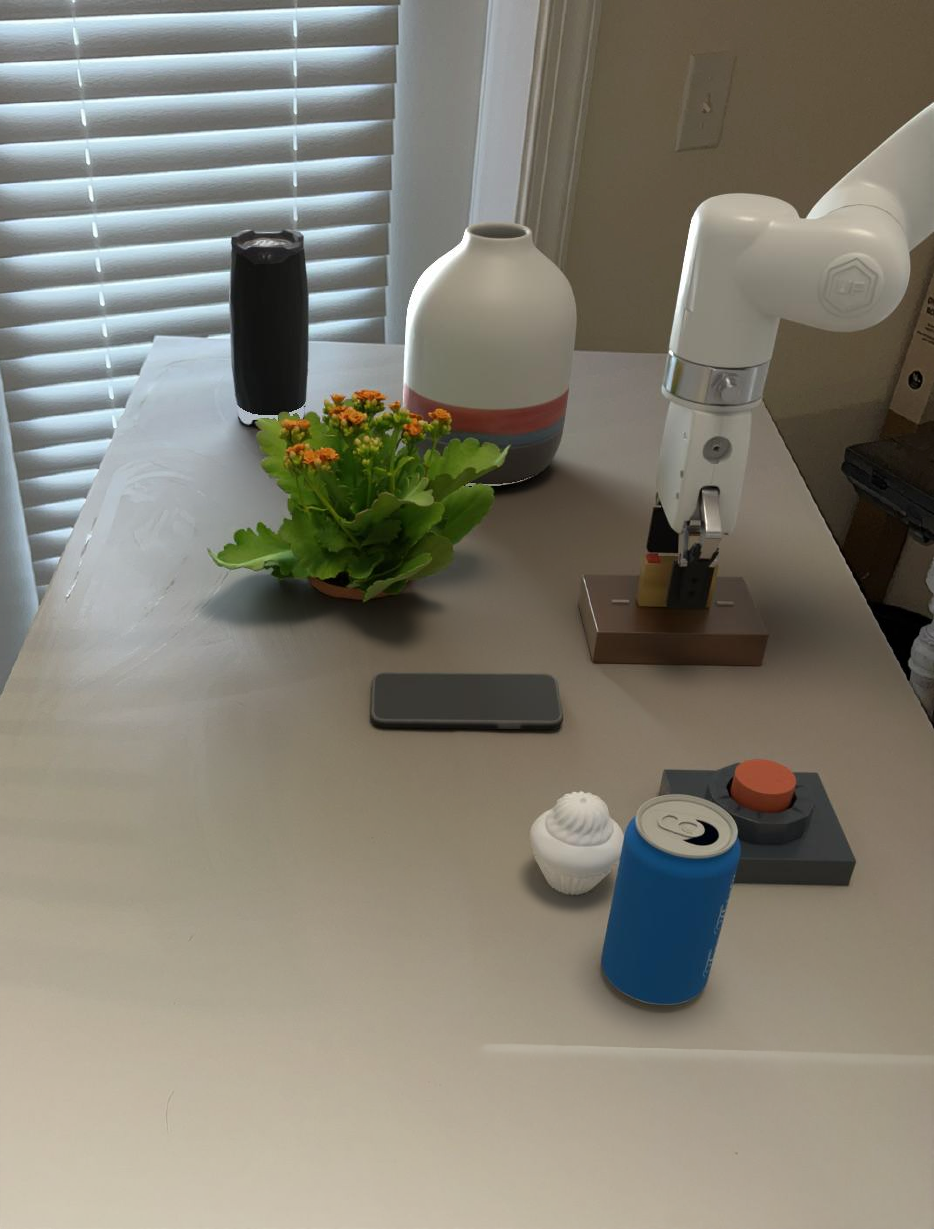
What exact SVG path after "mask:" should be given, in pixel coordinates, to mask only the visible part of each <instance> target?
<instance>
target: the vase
mask: <svg viewBox="0 0 934 1229" xmlns="http://www.w3.org/2000/svg"><path fill="white" fill-rule="evenodd" d="M406 313H407V314H406V321H405V322H406V323H405V324H406V325H405V339H404V340H405V341H404V361H403V384H402V385H403V386H402V387H403V388H402V409H403V408H406V410H409V413H413V414H417V415H421V416H422V417H423V418H424V419H423V421H427V422H428V424H430V423H431V422H432V421H434V419H433V418H431V417H429V415H428V413H429V412H430V413H433V412H435V410H436V409H443V411H447V412H446V413H449V414H450V416H451V419H452V422H451V423H450V428H451V430H450V431H449V432H450V434H444V435H442V437H441V438H440V439H439V440H438V441H437V443H436V447H435V450H437V451H438V452H439V453H440V455H441V457H442V456H443V451H444V449H445V447H446V446H447V447H448V444H449V442H450V441H451V440H452V439H459V440H460V442H461V444H462V443H463V442H464V440H465V439H467V438H474V439H477V440H478V441H479V447H481V446H482V444H484V443H485V442H488V443H492V444H495V445H496V446H497V447H498V448H499V450H500V449H502V452H503V451H504V450H505V448H506V447H507V446H508V445H511V446H510V448H509V449H508V453H507V455H506V457H505V460H504V463H503V465H502V466H500V467H498V468H496V469H494V470H492V471H490V472H488V473H486V474H484V475H482V476H481V477H479V478H477V479H475V480H473V481H471V482H469V483H476V484H480V483H481V484H503V483H512V482H517V481H520V480H524V479H526V478H529V477H532V476H534V477H536V476H537V475H536V474H538V473H539V472H541V471H542V470H543V471H545V470H546V469H547V468H548V466H549V465H550V464H551V463H552V461H553V459H554V457H555V455H556V454H557V453H558V450H559V448H560V445H561V441H562V438H563V434H564V428H565V420H566V415H567V408H568V399H569V392H570V384H571V376H572V369H573V362H574V361H573V360H574V352H575V343H576V335H577V323H578V320H577V319H578V313H577V304H576V299H575V295H574V292H573V288H572V286H571V283H570V282H569V279H568V278H567V276H566V275H565V274H564V273H563V272H562V270H561V269H560V268H559V267H558V266H557V265H556V264H555V262H553V261H552V260H550V258H548V257H547V256H546V255H545V254H544V253H542V252H541V251H540V250H539V249H538V248H537V246H536V245H535V244H534V240H533V231H532V230H531V228H529V227H528V226H526V225H523V224H519V223H516V222H515V223H514V222H509V221H483V222H477V223H474V224H471V225H469V226H467V227H466V228H465V231H464V235H463V238H462V241H461V242H460V243H459V244H458V245H457V246H455V247H454V248H453V249H452V250H450V251H448V252H447V253H446V254H444V255H443V256H441V257H439V258H438V259H437V260H436V261H435V262H434V263H432V264H431V265H430V266H429V267H428V268H427V269H425V271H424V272H423V273H422V275H421V276H420V277H419V279H418V281H417V283H416V284H415V286H414V289H413V290H412V294H411V297H410V299H409V303H408V307H407V312H406ZM425 433H426V432H424V433H423V434H425ZM429 435H430V433H426V437H425V439H426V440H424V441H422V442H420V443H417V444H416V445H415V446H414V449H416V448H417V447H419V450H418V451H417V452H418V455H419V457H420V458H421V464H422V462H423V461H422V460H423V457H424V455H425V453H426V451H427V450H428V449H430V450H431V449H432V446H433V443H434V441H433V440H431V438H430V437H429ZM438 435H439V433H438ZM435 436H436V435H435ZM437 438H438V437H437ZM405 446H407V444H405ZM502 452H501V453H502ZM543 471H542V472H543ZM542 472H541V473H542ZM539 474H540V473H539ZM539 474H538V475H539ZM535 475H536V476H535Z"/></svg>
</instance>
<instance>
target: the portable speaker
mask: <svg viewBox="0 0 934 1229" xmlns="http://www.w3.org/2000/svg"><path fill="white" fill-rule="evenodd" d="M230 238H231V239H230V244H231V252H230V269H229V270H230V271H229V284H228V286H229V288H228V306H229V308H228V310H229V311H228V312H229V333H230V334H229V336H230V360H231V361H230V362H231V371H232V380H233V388H234V396H235V402H236V406H237V405H238V406H239V407H240V408H242V409H243V410H245V411H247V412H250V413H252V414H258V415H279V414H280V413H281V412H288V413H289V412H292V411H294V410H297V409H299V408H301V407H302V406H303V405H304V404H305V402H306V403H307V392H308V390H307V389H308V375H309V357H310V356H309V355H310V354H309V350H310V349H309V337H310V336H309V331H310V330H309V329H310V328H309V327H310V326H309V323H310V321H309V320H310V319H309V312H310V311H309V310H310V307H309V304H310V299H309V298H310V296H309V295H310V294H309V284H308V273H307V272H308V271H307V264H306V255H305V247H304V243H305V236H304V234H302V232H301V231H299V230H298V231H297V230H293V229H282V230H281V231H254V230H253V229H245V230H241V231H237V232H234V234H233V235H232V236H231V237H230Z"/></svg>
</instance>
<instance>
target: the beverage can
mask: <svg viewBox="0 0 934 1229" xmlns="http://www.w3.org/2000/svg"><path fill="white" fill-rule="evenodd" d="M737 834H738V829H737V825H736V823H735V821H734V820H733V818H732V817H731V816H730V815H729V813H727V812H726V811H725V810H724V809H722V808H721V807H719V806H718V805H716V804H714V803H712V802H710V801H707V800H705V799H702V798H698V797H694V796H689V795H679V794H671V795H663V796H659V795H658V796H655V797H653V798H650V799H648V800H646V801H645V802H644V803H642V804H641V805H640V806H639V807H638V809H637V811H636V815H635V816H633V817H632V818H631V819H630V820H629V822H628V824H627V826H626V828H625V831H624V834H623V835H624V840H623V845H622V851H621V856H620V859H619V860H618V867H617V872H616V877H615V882H614V889H613V893H612V899H611V904H610V909H609V914H608V920H607V925H606V931H605V935H604V940H603V947H602V952H601V958H600V963H601V968H602V971H603V974H604V976H605V977H606V979H607V980H608V981H609V983H611V985H612V986H613V987H615V988H616V989H617V990H618V991H620V993H623V994H624V995H626V996H628V997H630V998H631V999H634V1000H636V1001H639V1002H642V1003H646V1004H650V1005H657V1006H658V1005H659V1006H667V1005H668V1006H672V1005H679V1004H682V1003H685V1002H688V1001H690V1000H693V999H695V998H696V997H697V996H699V995H700V994H701V993H702V992H703V990H704V989H705V988H706V986H707V984H708V981H709V978H710V973H711V970H712V965H713V962H714V957H715V954H716V951H717V947H718V943H719V938H720V934H721V932H722V927H723V923H724V920H725V916H726V912H727V909H728V908H727V907H728V905H729V901H730V897H731V893H732V889H733V885H734V883H733V882H734V878H735V874H736V870H737V866H738V863H739V859H740V854H741V846H740V842H739V839H738V837H737Z"/></svg>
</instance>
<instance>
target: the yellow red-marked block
mask: <svg viewBox="0 0 934 1229" xmlns="http://www.w3.org/2000/svg"><path fill="white" fill-rule="evenodd" d="M673 561H678V555H660V554H659V553H650V552H647V553H645V554H643V555H642V559H641V566H640V572H639V575H640V576H639V582H638V588H637V594H636V599H637V602H638V605H639V606H643V607H667V606H666V603H665V602H666V596H667V591H668V586H669V581H670V576H671V571H672V566H673ZM719 566H720V563H719V562H718V561H717V562H716V566H715V569H714V573H713V578H712V583H711V587H710V592H709V596H708V601H707V605H706V607H705V608H710V605H711V601H712V596H713V591H714V586H715V582H716V577H718V571H719Z"/></svg>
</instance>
